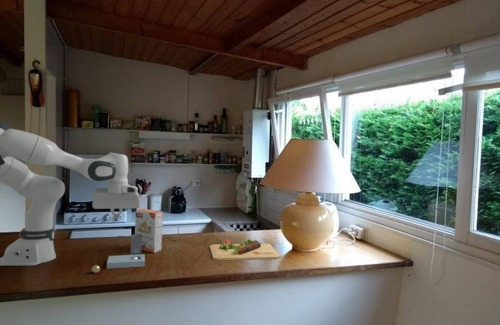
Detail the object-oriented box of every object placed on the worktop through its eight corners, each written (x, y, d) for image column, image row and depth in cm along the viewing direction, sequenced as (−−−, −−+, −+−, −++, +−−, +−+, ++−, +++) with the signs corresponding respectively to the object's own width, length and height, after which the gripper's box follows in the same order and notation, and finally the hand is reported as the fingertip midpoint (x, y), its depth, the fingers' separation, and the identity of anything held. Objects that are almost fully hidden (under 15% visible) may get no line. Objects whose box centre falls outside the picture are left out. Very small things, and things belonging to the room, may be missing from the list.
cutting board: (213, 261, 168) (214, 246, 168) (209, 247, 191) (209, 234, 190) (281, 260, 175) (282, 245, 175) (269, 246, 198) (270, 234, 198)
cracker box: (133, 248, 180) (135, 209, 179) (142, 246, 186) (143, 208, 185) (153, 253, 174) (155, 213, 173) (161, 250, 179) (163, 211, 178)
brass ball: (91, 274, 143) (91, 266, 143) (92, 271, 146) (92, 264, 146) (99, 273, 144) (99, 266, 144) (100, 271, 147) (100, 263, 147)
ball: (138, 262, 158) (131, 265, 157) (138, 260, 161) (131, 263, 160) (136, 256, 157) (129, 259, 156) (136, 254, 160) (129, 257, 159)
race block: (130, 254, 163) (130, 237, 163) (130, 250, 169) (131, 234, 169) (141, 253, 165) (141, 237, 165) (141, 249, 171) (141, 234, 170)
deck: (106, 268, 150) (107, 263, 150) (108, 261, 160) (108, 256, 160) (144, 266, 155) (144, 260, 155) (144, 259, 165) (144, 254, 165)
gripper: (91, 188, 149) (90, 220, 149) (140, 189, 155) (139, 219, 156) (93, 186, 155) (92, 217, 155) (140, 187, 161) (139, 216, 162)
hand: (116, 218), depth 155 cm, fingers closed
